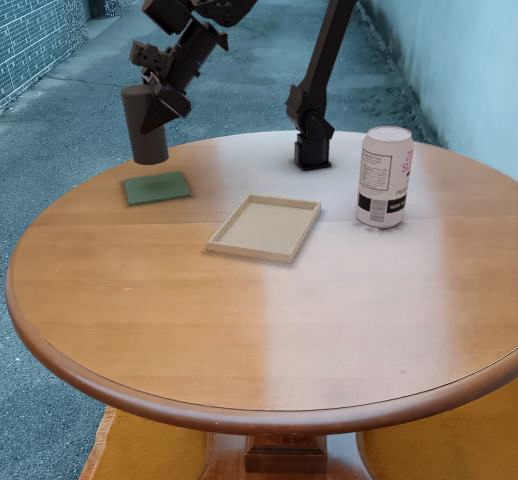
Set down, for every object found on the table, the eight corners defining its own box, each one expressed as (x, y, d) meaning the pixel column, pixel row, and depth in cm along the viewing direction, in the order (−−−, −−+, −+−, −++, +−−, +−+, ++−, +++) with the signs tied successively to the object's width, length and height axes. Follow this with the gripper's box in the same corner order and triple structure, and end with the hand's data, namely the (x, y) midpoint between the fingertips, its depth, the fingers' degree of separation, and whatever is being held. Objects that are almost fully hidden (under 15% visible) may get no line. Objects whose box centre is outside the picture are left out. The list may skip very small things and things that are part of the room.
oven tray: (248, 202, 102) (248, 193, 101) (321, 212, 98) (321, 202, 97) (207, 252, 88) (206, 242, 87) (290, 265, 84) (290, 254, 83)
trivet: (180, 173, 114) (180, 170, 113) (191, 196, 105) (190, 193, 105) (123, 182, 111) (123, 179, 111) (129, 206, 103) (128, 203, 102)
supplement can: (351, 210, 98) (357, 126, 88) (395, 207, 99) (407, 123, 89) (361, 231, 92) (369, 144, 82) (408, 228, 92) (422, 140, 83)
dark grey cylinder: (176, 156, 104) (166, 87, 96) (151, 168, 100) (139, 97, 92) (151, 149, 108) (140, 82, 99) (126, 160, 104) (112, 91, 95)
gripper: (143, 12, 97) (95, 85, 102) (161, 30, 83) (106, 114, 88) (191, 55, 104) (144, 122, 108) (215, 79, 90) (160, 154, 95)
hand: (138, 127), depth 100 cm, fingers closed on dark grey cylinder, 7 cm apart
